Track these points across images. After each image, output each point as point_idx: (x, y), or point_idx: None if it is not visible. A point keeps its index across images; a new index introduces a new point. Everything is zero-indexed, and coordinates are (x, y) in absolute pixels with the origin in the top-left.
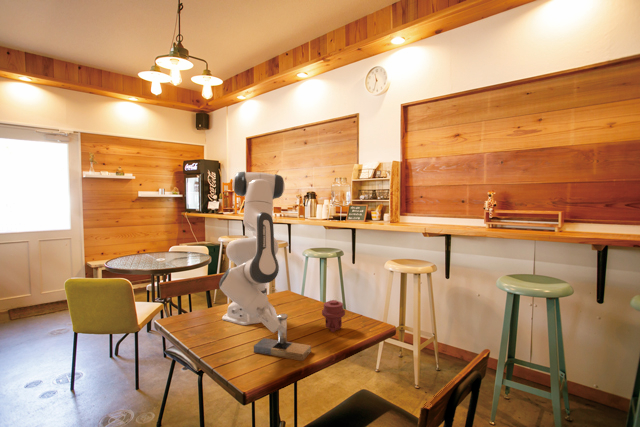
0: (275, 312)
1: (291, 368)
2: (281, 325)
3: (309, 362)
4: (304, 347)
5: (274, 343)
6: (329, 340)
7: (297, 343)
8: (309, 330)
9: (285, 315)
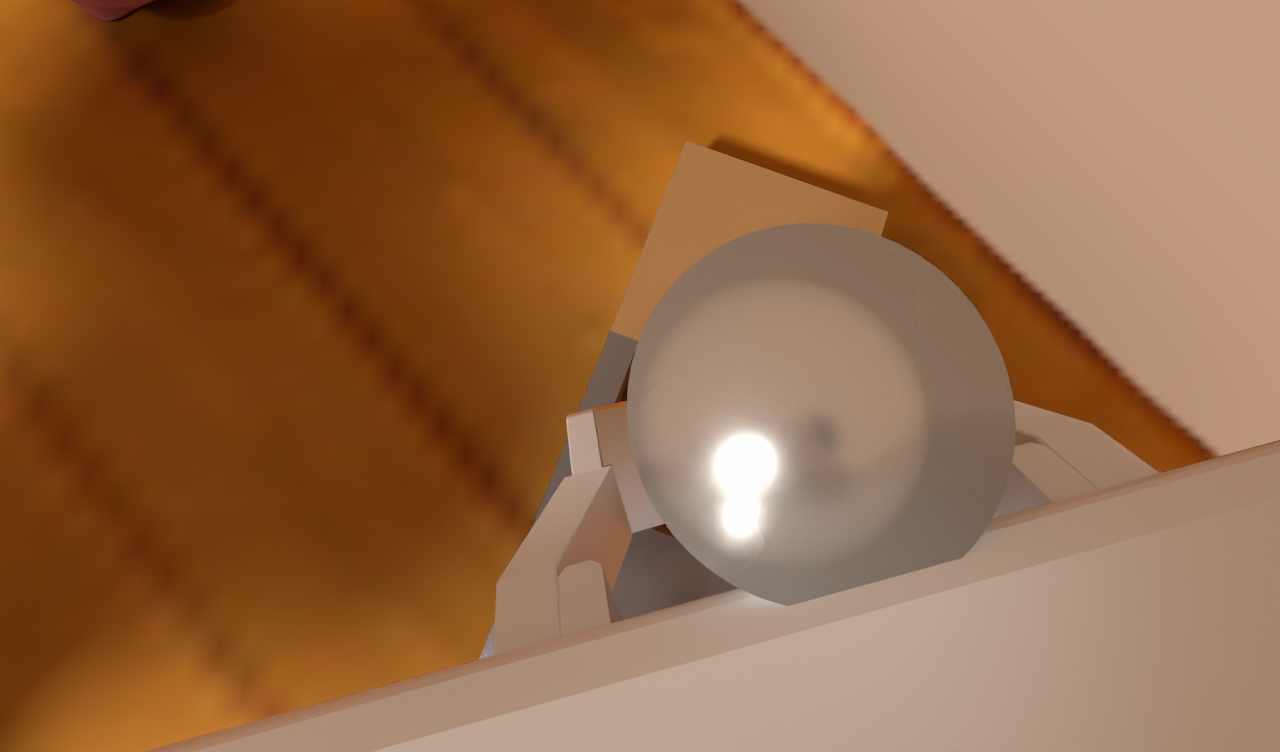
0: (582, 718)
1: (998, 330)
2: (1023, 409)
3: (880, 185)
4: (734, 201)
5: (626, 553)
6: (435, 16)
7: (632, 280)
8: (148, 204)
9: (817, 288)
